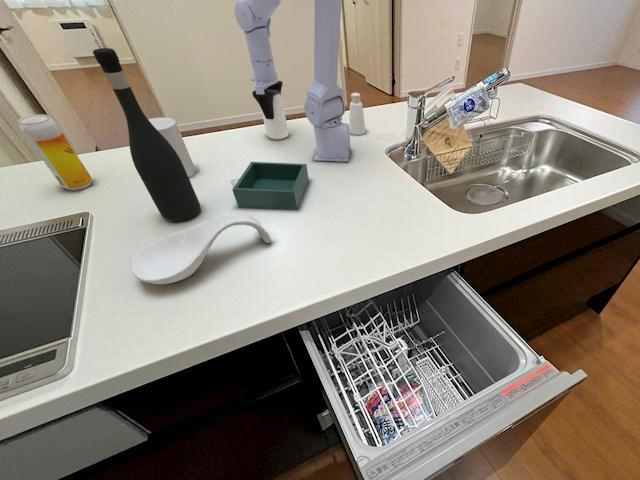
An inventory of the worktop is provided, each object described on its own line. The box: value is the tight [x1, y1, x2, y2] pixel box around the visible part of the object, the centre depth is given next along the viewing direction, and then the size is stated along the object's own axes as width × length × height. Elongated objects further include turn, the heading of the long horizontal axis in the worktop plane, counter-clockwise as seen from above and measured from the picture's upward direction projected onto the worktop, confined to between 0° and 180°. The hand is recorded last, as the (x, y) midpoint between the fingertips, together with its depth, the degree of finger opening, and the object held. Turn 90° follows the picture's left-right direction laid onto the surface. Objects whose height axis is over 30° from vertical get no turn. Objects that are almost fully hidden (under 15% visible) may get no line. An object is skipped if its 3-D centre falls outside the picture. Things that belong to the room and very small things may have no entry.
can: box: [260, 90, 289, 141], centre depth 103 cm, size 6×6×12 cm
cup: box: [147, 116, 197, 179], centre depth 84 cm, size 8×8×12 cm
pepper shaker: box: [348, 92, 367, 136], centre depth 107 cm, size 5×5×11 cm
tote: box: [232, 161, 310, 211], centre depth 82 cm, size 14×14×4 cm
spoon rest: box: [130, 213, 272, 285], centre depth 64 cm, size 24×12×7 cm, turn 129°
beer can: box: [17, 113, 93, 192], centre depth 77 cm, size 6×6×15 cm
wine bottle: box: [92, 47, 201, 222], centre depth 66 cm, size 8×8×30 cm
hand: (273, 114), depth 102 cm, fingers open, 7 cm apart
